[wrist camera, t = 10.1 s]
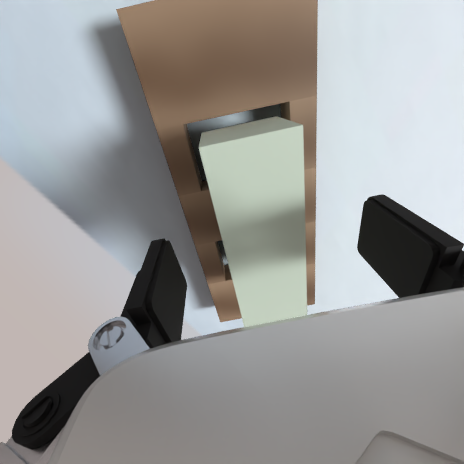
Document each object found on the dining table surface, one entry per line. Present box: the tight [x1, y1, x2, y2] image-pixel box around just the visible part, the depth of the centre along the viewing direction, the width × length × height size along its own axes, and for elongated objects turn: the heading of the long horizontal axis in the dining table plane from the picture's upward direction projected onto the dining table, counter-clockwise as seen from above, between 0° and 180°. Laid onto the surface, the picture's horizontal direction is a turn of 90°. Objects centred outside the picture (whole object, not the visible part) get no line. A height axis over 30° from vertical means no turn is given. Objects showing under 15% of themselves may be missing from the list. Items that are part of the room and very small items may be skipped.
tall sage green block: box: [199, 116, 307, 327], centre depth 14 cm, size 11×4×7 cm, turn 11°
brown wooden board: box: [116, 0, 318, 322], centre depth 17 cm, size 22×9×2 cm, turn 10°
